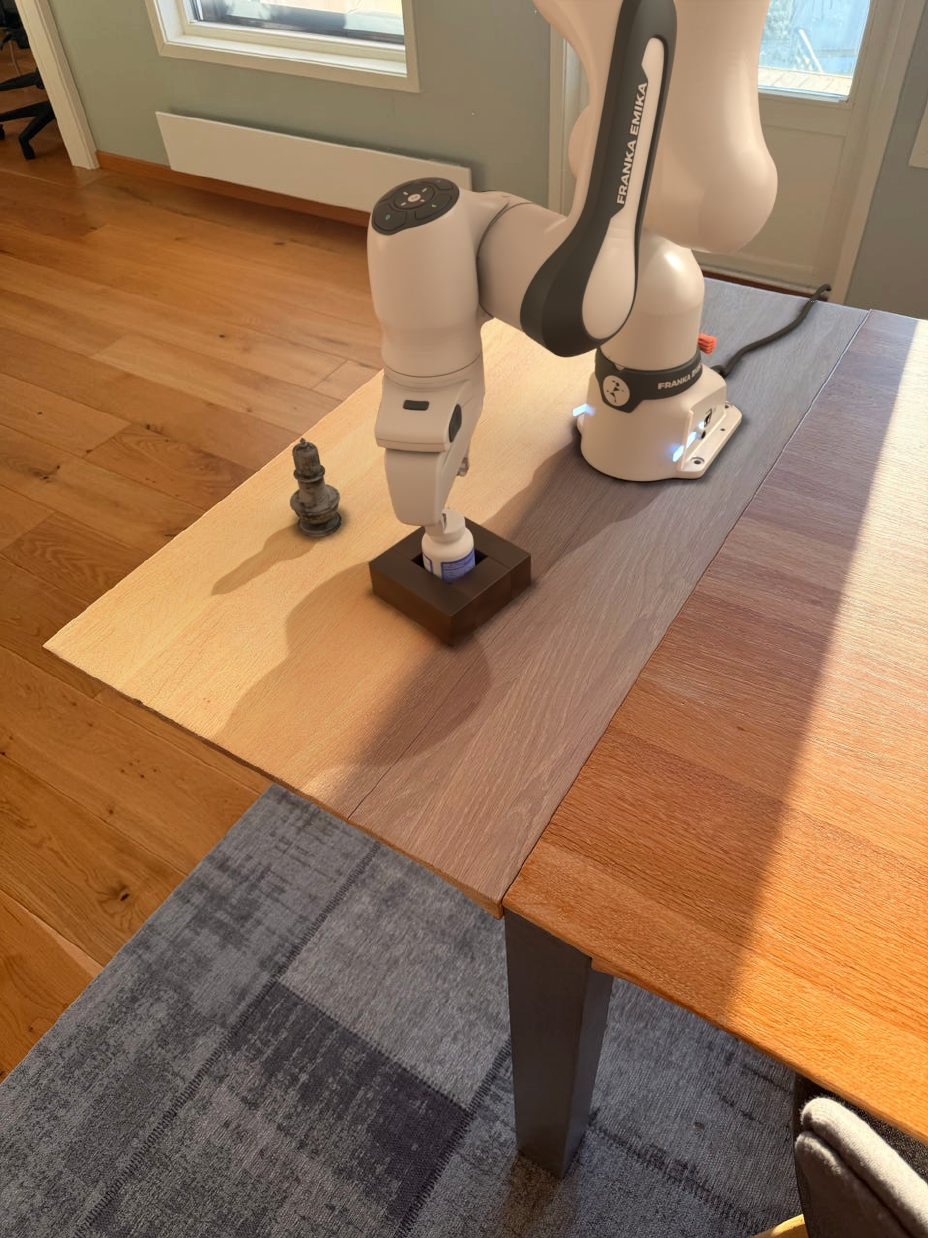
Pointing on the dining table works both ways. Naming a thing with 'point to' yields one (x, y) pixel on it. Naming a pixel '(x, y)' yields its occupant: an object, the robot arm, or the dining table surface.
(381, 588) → the socket block
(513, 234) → the robot arm
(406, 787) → the dining table surface
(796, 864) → the dining table surface
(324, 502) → the grey metal finial
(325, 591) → the dining table surface
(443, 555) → the pill bottle
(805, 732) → the dining table surface
